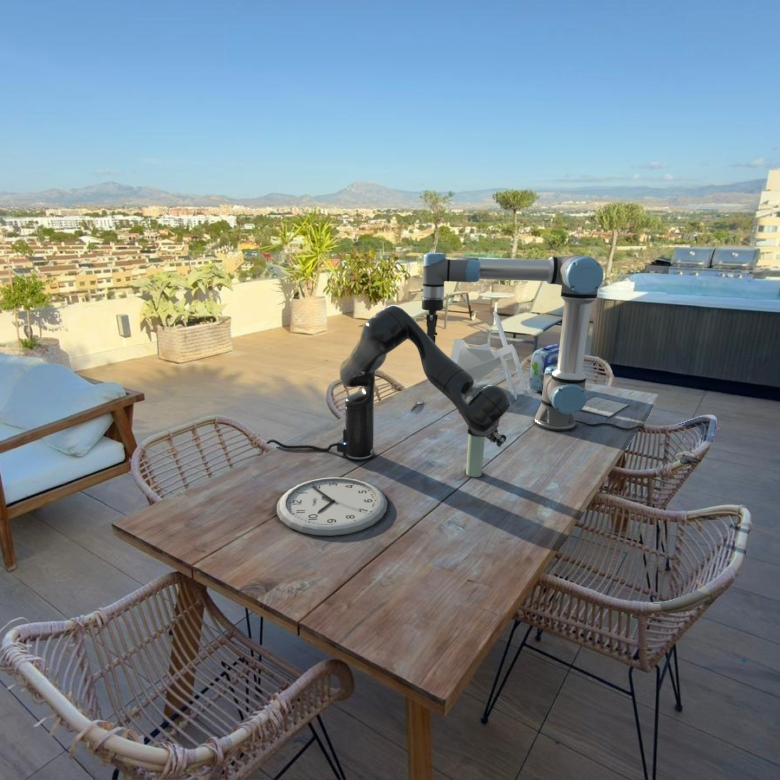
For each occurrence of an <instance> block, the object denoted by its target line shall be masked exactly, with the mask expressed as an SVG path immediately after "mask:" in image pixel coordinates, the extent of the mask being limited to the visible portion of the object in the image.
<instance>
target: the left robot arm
mask: <svg viewBox="0 0 780 780" xmlns="http://www.w3.org/2000/svg"><path fill="white" fill-rule="evenodd" d="M407 340H409V341H410V342H412V343H413V345H414V346H415V347H416V349H417V351H418V355H419V358H420V362H421V367H422V369H423V372H424V375H425V377H426V378H427V380H428V381H429V383H431V384H432V385H433V386H434V387H435V388H436V389H437V390H438V391H439V392H441V393H442V394H443V395H444V396H445V397H446V398H448V399H449V400H450V401H451V402H452V404H453V405H454V406H455V407H456V409H457V410H458V413H459V415H461V418H463V421H464V422H465V423H466V426H467V428H468V427H469V429H470V431H471V432H472V433H473V434H475V435H476V436H479V437H485V438H486V439H487V440H489V442H490V443H494V444H496V446H497V447H498V448H501V447H502V445H503V444H504V443H505V442H506V441H507V436H506V435H505V434H502V433H499V429H498V428H499V426H500V419H501V418H502V417H503V416H505V414H506V412H507V411H509V409H510V407H511V400H510V397H509V395H508V393H507V391H506V390H504V389H503V387H501V386H498V385H496V384H487V385H485V386H484V387H482V388H481V389H480V390H479V391H478V393H477V394H475V395H474V396H473V398H472V399H471V400H470V401H469V402H467V398H468V396H469V394H470V392H471V391H472V389H473V387H474V384H475V383H474V379H473V377H472V376H471V375H470V374H469V373H468V372H466V371H465V370H464V369H463V368H461V367H460V366H459V365H458V364H456V363H455V362H454V361H453V360H451V359H450V357H449V356H448V355H447V354H446V353H445V352H444V351H443V350H442V349H441V348H440V347H439V346H438V345H437V343H436V342H435V343H434V342H433V341H432V339H431V338H430V337H429V336H428V335H427V332H426V331H425V330H424V329H423V328H422V327H421V326H420V325H419V324H418V323H417V322H416V321H415V319H413V318H412V316H411V315H410V314H409V313H407V312H406V310H404V309H403V308H401V307H400V306H398V305H395V304H391V305H388V306H386V307H384V308H383V309H382V310H381V311H378V312H377V313H375V314H374V315H373V316H372V317H370V318H369V319H367V320H366V322H365V323H364V324H363V326H362V329H361V333H360V337H359V338H358V340H357V342H356V343H355V344H354V346H353V347H352V350H351V352H350V353H349V355H347V356H346V357H345V358H344V359H342V362H341V364H340V367H339V379H340V381H341V384H342V385H343V386H345V387H347V388H360V389H359V390H357V391H356V392H354V393H352V394H349V395H348V396H346V397H345V400H344V414H345V416H344V418H345V419H344V421H345V422H344V423H345V425H344V426H345V427H344V428H343V429H342V438H340V439H339V440H338V441H336V442H333V443H330V444H329V445H328V447H325V448H324V447H323V448H321V447H318V446H315V445H310V444H302V445H301V444H300V445H298V444H297V445H287V444H284V443H282V442H280V441H278V440H276V439H269V440H267V441H266V442H265V444H267V445H269V444H271V443H274V444H276V445H277V446H279V447H282V448H284V449H292V450H293V449H312V450H316V451H319V452H329V451H330V450H331V449H332V448H333V447H336V451H337V452H338V453H342V455H343V456H342V457H345V458H347V459H349V460H352V461H359V462H361V461H366V460H370V459H371V458H373V457H374V451H375V447H374V420H375V419H374V415H375V414H374V409H375V408H374V404H375V383H376V371H377V370H379V369H380V368H381V367H382V366H383V364H384V363H385V361H386V359H387V356H388V354H389V353H390V352H391V351H394V350H395V349H396V348H397V347H399V346H400V345H402V344H403V343H404V342H406V341H407Z"/></svg>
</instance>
